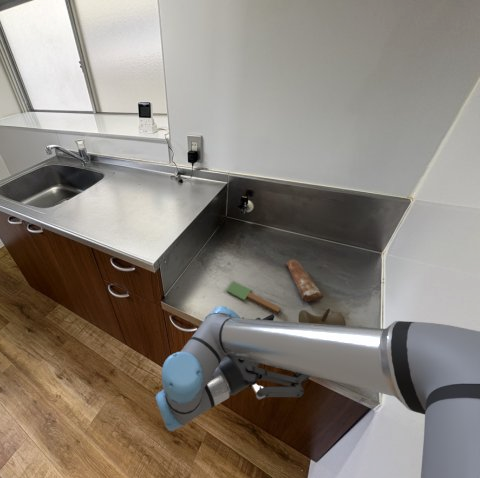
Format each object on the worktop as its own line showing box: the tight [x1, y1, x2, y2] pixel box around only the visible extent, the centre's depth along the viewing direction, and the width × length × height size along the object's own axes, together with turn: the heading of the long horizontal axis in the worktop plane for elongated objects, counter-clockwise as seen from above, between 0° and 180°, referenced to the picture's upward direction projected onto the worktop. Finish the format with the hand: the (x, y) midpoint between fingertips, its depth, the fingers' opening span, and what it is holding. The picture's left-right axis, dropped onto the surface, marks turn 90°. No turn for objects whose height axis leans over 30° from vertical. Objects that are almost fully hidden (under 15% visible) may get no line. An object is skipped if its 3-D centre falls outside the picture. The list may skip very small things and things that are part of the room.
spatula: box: [226, 281, 281, 315], centre depth 88 cm, size 18×5×1 cm, turn 49°
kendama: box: [297, 307, 347, 326], centre depth 67 cm, size 6×10×20 cm, turn 83°
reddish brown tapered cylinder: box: [286, 258, 324, 303], centre depth 89 cm, size 6×19×6 cm, turn 177°
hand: (292, 338), depth 62 cm, fingers open, 13 cm apart
